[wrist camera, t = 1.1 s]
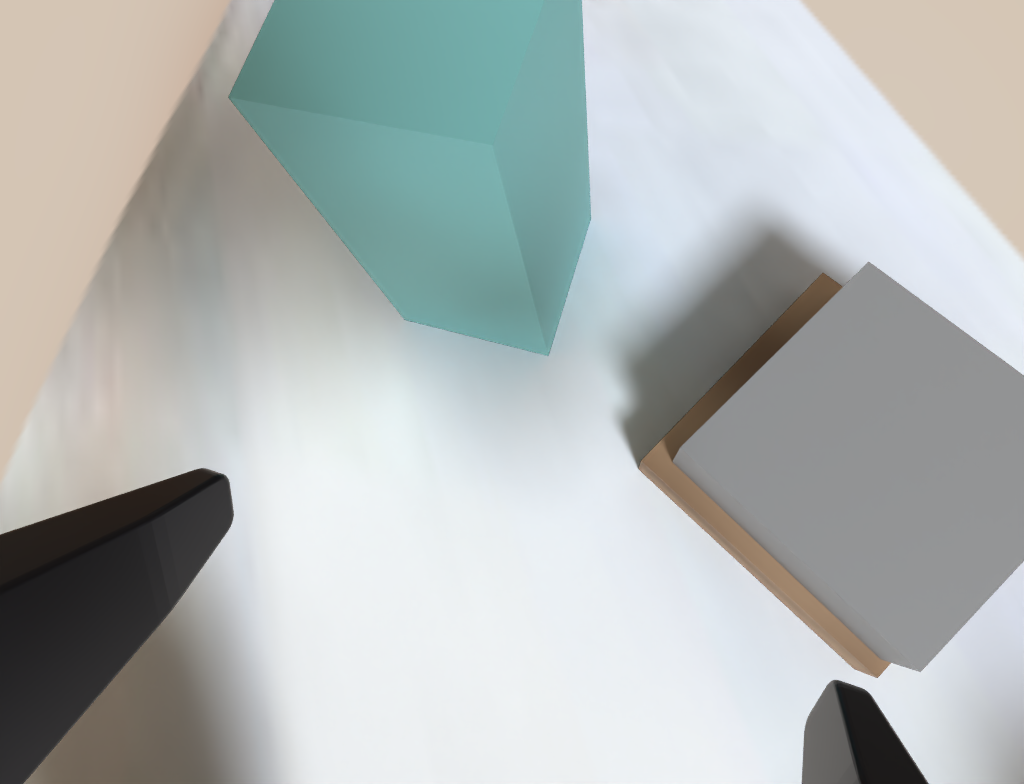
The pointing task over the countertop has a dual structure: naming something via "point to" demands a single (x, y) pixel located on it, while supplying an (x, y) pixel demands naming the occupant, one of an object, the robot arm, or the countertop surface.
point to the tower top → (877, 466)
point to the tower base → (719, 522)
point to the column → (437, 148)
